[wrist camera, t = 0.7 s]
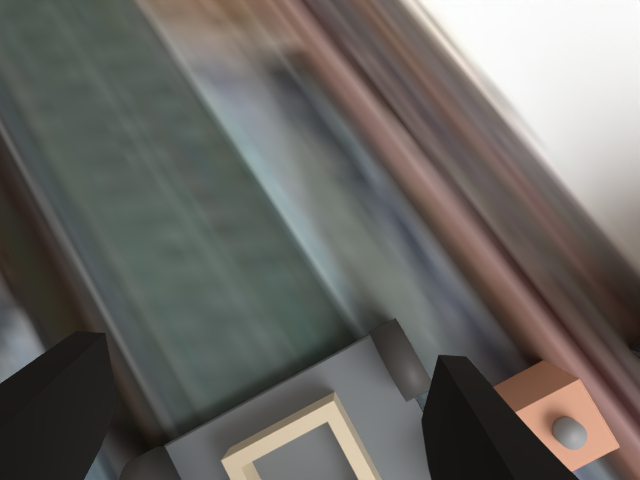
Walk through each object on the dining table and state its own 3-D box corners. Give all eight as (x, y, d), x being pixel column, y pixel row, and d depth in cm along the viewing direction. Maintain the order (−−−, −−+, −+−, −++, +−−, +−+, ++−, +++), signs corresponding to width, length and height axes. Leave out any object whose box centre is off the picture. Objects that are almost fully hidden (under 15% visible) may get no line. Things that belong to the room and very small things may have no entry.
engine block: (576, 416, 30) (628, 453, 24) (519, 445, 30) (558, 488, 25) (543, 360, 31) (586, 382, 25) (487, 389, 31) (518, 418, 25)
